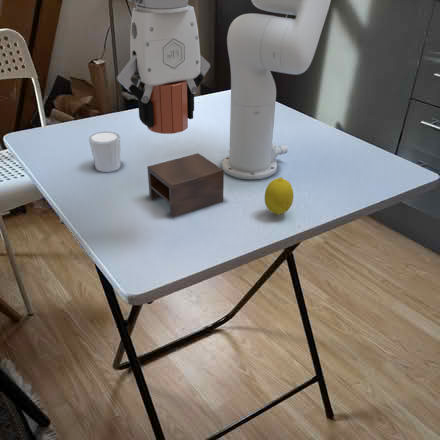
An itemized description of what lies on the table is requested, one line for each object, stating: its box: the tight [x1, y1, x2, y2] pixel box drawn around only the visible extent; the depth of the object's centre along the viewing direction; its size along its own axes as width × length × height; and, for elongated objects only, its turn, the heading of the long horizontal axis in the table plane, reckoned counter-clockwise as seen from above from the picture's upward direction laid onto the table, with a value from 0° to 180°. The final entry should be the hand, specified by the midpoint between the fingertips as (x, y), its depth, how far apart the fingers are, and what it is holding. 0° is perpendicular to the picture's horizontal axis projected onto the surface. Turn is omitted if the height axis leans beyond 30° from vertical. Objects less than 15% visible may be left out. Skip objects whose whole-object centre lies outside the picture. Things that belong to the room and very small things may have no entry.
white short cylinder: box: [88, 131, 122, 173], centre depth 117 cm, size 7×7×7 cm
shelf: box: [146, 152, 225, 218], centre depth 105 cm, size 12×10×7 cm
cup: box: [146, 80, 189, 135], centre depth 84 cm, size 7×7×8 cm
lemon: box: [264, 177, 294, 216], centre depth 101 cm, size 6×6×8 cm
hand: (167, 119), depth 85 cm, fingers closed on cup, 6 cm apart
